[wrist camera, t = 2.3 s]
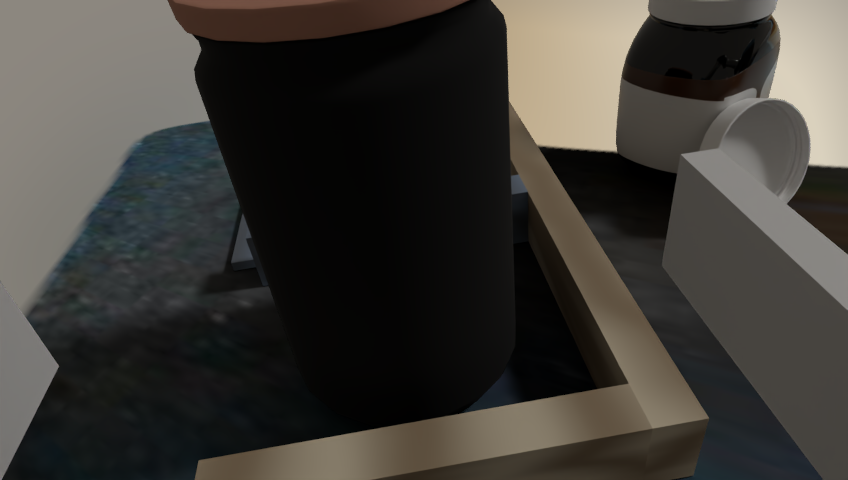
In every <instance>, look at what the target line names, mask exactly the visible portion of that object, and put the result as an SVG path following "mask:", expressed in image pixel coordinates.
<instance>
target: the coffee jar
mask: <svg viewBox="0 0 848 480" xmlns="http://www.w3.org/2000/svg"><path fill="white" fill-rule="evenodd" d="M168 2H169V5H170V7H171V9H172V11H173V13H174V15H175V18H176V20H177V21H178V22H179V24H180V25H181V26H182V27H183V28H184V30H185V31H186V32H187V33H190V34H192V35H193V36H194V37H195V38H196V39H197V40H198V41H199V44H200V47H201V53H200V55H199V58H198V60H197V64H196V66H195V68H194V71H195V80H196V84H197V86H198V89H199V92H200V95H201V97H202V100H203V103H204V106H205V109H206V111H207V114H208V117H209V119H210V123H211V125H212V128H213V131H214V134H215V137H216V139H217V142H218V145H219V148H220V151H221V153H222V156H223V159H224V162H225V165H226V167H227V170H228V173H229V176H230V179H231V181H232V184H233V187H234V190H235V193H236V195H237V198H238V201H239V204H240V207H241V209H242V212H243V215H244V218H245V220H246V223H247V226H248V229H249V232H250V234H251V237H252V240H253V243H254V246H255V248H256V251H257V254H258V257H259V260H260V262H261V265H262V268H263V271H264V274H265V276H266V279H267V282H268V285H269V288H270V290H271V293H272V296H273V299H274V302H275V304H276V307H277V310H278V313H279V316H280V318H281V321H282V324H283V327H284V330H285V332H286V335H287V338H288V341H289V343H290V346H291V349H292V352H293V355H294V357H295V360H296V363H297V366H298V368H299V370H300V372H301V374H302V376H303V378H304V380H305V382H306V384H307V386H308V388H309V390H310V392H311V393H313V394H314V395H315V396H316V397H317V398H319V399H320V400H321V401H322V402H324V403H325V404H326V405H327V406H328V407H330V408H331V409H332V410H333V411H335V412H336V413H337V414H339V415H342V416H345V417H348V418H351V419H354V420H356V421H359V422H362V423H365V424H368V425H372V426H375V427H389V426H394V425H400V424H406V423H411V422H417V421H422V420H428V419H434V418H439V417H445V416H450V415H455V414H456V413H458V412H460V411H462V410H464V409H466V408H468V407H469V406H471V405H472V404H473V403H474V402H476V401H477V400H478V399H479V398H480V397H481V396H482V395H483V394H484V393H485V392H486V391H487V390H488V389H489V388H490V387H491V386H492V385H493V384H494V383H495V382H496V381H497V380H498V379H499V378H500V377H501V375H502V374H503V372H504V370H505V367H506V365H507V363H508V361H509V359H510V356H511V354H512V352H513V350H514V348H515V327H516V318H515V286H514V254H513V221H512V189H511V157H510V124H509V95H508V94H509V92H508V60H507V28H506V23H505V19H504V15H503V14H502V13H501V12H500V11H499V9H498V8H497V7H496V6H495V5H494V4H493V2H492V1H491V0H168Z"/></svg>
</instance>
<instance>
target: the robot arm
mask: <svg viewBox="0 0 848 480" xmlns="http://www.w3.org/2000/svg"><path fill="white" fill-rule="evenodd" d="M662 267H663V268H664V269H665V271H666V272H667V273H668V275H669V276H670V277H671V279H672V280H673V281H674V283H675V284H676V285H677V286H678V288H679V289H680V290H681V292H682V293H683V294H684V296H685V297H686V298H687V300H688V301H689V302H690V304H691V305H692V306H693V308H694V309H695V310H696V312H697V313H698V314H699V316H700V317H701V318H702V320H703V321H704V322H705V324H706V325H707V326H708V328H709V329H710V330H711V332H712V333H713V334H714V335H715V337H716V338H717V339H718V341H719V342H720V343H721V345H722V346H723V347H724V349H725V350H726V351H727V353H728V354H729V355H730V357H731V358H732V359H733V361H734V362H735V363H736V365H737V366H738V367H739V369H740V370H741V371H742V373H743V374H744V375H745V377H746V378H747V379H748V381H749V382H750V383H751V384H752V386H753V387H754V388H755V390H756V391H757V392H758V394H759V395H760V396H761V398H762V399H763V400H764V402H765V403H766V404H767V406H768V407H769V408H770V410H771V411H772V412H773V414H774V415H775V416H776V418H777V419H778V420H779V422H780V423H781V424H782V426H783V427H784V428H785V430H786V431H787V432H788V433H789V435H790V436H791V437H792V439H793V440H794V441H795V443H796V444H797V445H798V447H799V448H800V449H801V451H802V452H803V453H804V455H805V456H806V457H807V459H808V460H809V461H810V463H811V464H812V465H813V467H814V468H815V469H816V471H817V472H818V473H819V475H820V476H821V477H822V479H823V480H848V255H847V254H846V253H845V252H844V251H842V250H841V249H840V248H839V247H838V246H836V245H835V244H834V243H833V242H832V241H830V240H829V239H828V238H827V237H826V236H824V235H823V234H822V233H821V232H819V231H818V230H817V229H816V228H815V227H813V226H812V225H811V224H810V223H809V222H807V221H806V220H805V219H804V218H803V217H801V216H800V215H799V214H798V213H797V212H795V211H794V210H793V209H792V208H790V207H789V206H788V205H787V204H786V203H784V202H783V201H782V200H781V199H780V198H778V197H777V196H776V195H775V194H774V193H772V192H771V191H770V190H769V189H767V188H766V187H765V186H764V185H763V184H761V183H760V182H759V181H758V180H757V179H755V178H754V177H753V176H752V175H751V174H749V173H748V172H747V171H746V170H744V169H743V168H742V167H741V166H740V165H738V164H737V163H736V162H735V161H734V160H732V159H731V158H730V157H729V156H728V155H726V154H725V153H724V152H723V151H722V150H720V149H719V148H717V149H711V150H704V151H698V152H692V153H685V154H681V155H680V161H679V166H678V172H677V178H676V184H675V190H674V196H673V202H672V208H671V213H670V219H669V225H668V231H667V237H666V243H665V249H664V255H663V261H662ZM58 367H59V365H58V364H57V363H56V361H55V360H54V358H53V357H52V355H51V354H50V352H49V351H48V349H47V348H46V347H45V345H44V344H43V342H42V341H41V339H40V338H39V336H38V335H37V334H36V332H35V331H34V329H33V328H32V326H31V325H30V323H29V322H28V320H27V319H26V318H25V316H24V315H23V313H22V312H21V310H20V309H19V307H18V306H17V304H16V303H15V302H14V300H13V299H12V297H11V296H10V294H9V293H8V292H7V290H6V289H5V287H4V286H3V284H2V283H1V281H0V480H2V478H3V476H4V474H5V472H6V470H7V468H8V466H9V464H10V462H11V460H12V458H13V456H14V454H15V452H16V450H17V448H18V446H19V444H20V443H21V441H22V439H23V437H24V435H25V433H26V431H27V429H28V427H29V425H30V423H31V421H32V419H33V417H34V415H35V413H36V411H37V409H38V407H39V405H40V403H41V401H42V399H43V397H44V395H45V393H46V391H47V389H48V387H49V385H50V383H51V381H52V379H53V377H54V375H55V373H56V371H57V369H58Z"/></svg>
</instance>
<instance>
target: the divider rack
mask: <svg viewBox="0 0 848 480" xmlns="http://www.w3.org/2000/svg"><path fill="white" fill-rule="evenodd" d="M509 124H510V157H511V189H512V221H513V244H515V243H521V242H527V241H529V244H530V246H531V248H532V250H533V252H534V254H535V256H536V259H537V261H538V263H539V265H540V267H541V269H542V271H543V274H544V276H545V278H546V280H547V282H548V284H549V286H550V289H551V291H552V293H553V295H554V297H555V299H556V302H557V304H558V306H559V308H560V310H561V312H562V314H563V317H564V319H565V321H566V323H567V325H568V327H569V329H570V332H571V334H572V336H573V338H574V340H575V342H576V344H577V347H578V349H579V351H580V353H581V355H582V357H583V360H584V362H585V364H586V366H587V368H588V370H589V372H590V375H591V377H592V379H593V381H594V383H595V385H596V387H597V389H596V390H590V391H585V392H579V393H574V394H568V395H562V396H557V397H551V398H546V399H540V400H534V401H529V402H523V403H518V404H512V405H506V406H501V407H495V408H490V409H484V410H478V411H473V412H467V413H462V414H456V415H450V416H445V417H439V418H434V419H428V420H422V421H417V422H411V423H406V424H400V425H394V426H389V427H383V428H378V429H372V430H366V431H361V432H355V433H350V434H344V435H338V436H333V437H327V438H322V439H316V440H310V441H305V442H299V443H294V444H288V445H282V446H277V447H271V448H266V449H260V450H254V451H249V452H243V453H238V454H232V455H226V456H221V457H215V458H210V459H204V460H199V462H198V466H197V471H196V476H195V480H672V479H677V478H683V477H688V476H693V474H694V471H695V467H696V463H697V460H698V456H699V453H700V449H701V445H702V442H703V438H704V435H705V431H706V427H707V424H708V420H709V418H708V416H707V414H706V413H705V411H704V410H703V408H702V407H701V405H700V403H699V402H698V400H697V399H696V397H695V395H694V394H693V392H692V391H691V389H690V387H689V386H688V384H687V383H686V381H685V380H684V378H683V376H682V375H681V373H680V372H679V370H678V368H677V367H676V365H675V364H674V362H673V361H672V359H671V357H670V356H669V354H668V353H667V351H666V349H665V348H664V346H663V345H662V343H661V341H660V340H659V338H658V337H657V335H656V334H655V332H654V330H653V329H652V327H651V326H650V324H649V322H648V321H647V319H646V318H645V316H644V314H643V313H642V311H641V310H640V308H639V307H638V305H637V303H636V302H635V300H634V299H633V297H632V295H631V294H630V292H629V291H628V289H627V288H626V286H625V284H624V283H623V281H622V280H621V278H620V276H619V275H618V273H617V272H616V270H615V268H614V267H613V265H612V264H611V262H610V261H609V259H608V257H607V256H606V254H605V253H604V251H603V249H602V248H601V246H600V245H599V243H598V242H597V240H596V238H595V237H594V235H593V234H592V232H591V230H590V229H589V227H588V226H587V224H586V222H585V221H584V219H583V218H582V216H581V215H580V213H579V211H578V210H577V208H576V207H575V205H574V203H573V202H572V200H571V199H570V197H569V195H568V194H567V192H566V191H565V189H564V188H563V186H562V184H561V183H560V181H559V180H558V178H557V176H556V175H555V173H554V172H553V170H552V169H551V167H550V165H549V164H548V162H547V161H546V159H545V157H544V156H543V154H542V153H541V151H540V149H539V148H538V146H537V145H536V143H535V142H534V140H533V138H532V137H531V135H530V134H529V132H528V131H527V129H526V128H525V126H524V124H523V123H522V121H521V119H520V118H519V116H518V115H517V113H516V111H515V110H514V108H513V107H512V105H511V103H510V102H509ZM231 265H232V267H233V270H234V271H236V270H242V269H248V268H254V267H256V268H257V271H258V274H259V276H260V279H261V282H262V285H263V286H267V285H268V282H267V279H266V276H265V274H264V271H263V268H262V265H261V262H260V260H259V257H258V254H257V251H256V248H255V246H254V243H253V240H252V237H251V234H250V232H249V229H248V226H247V223H246V220H245V218H244V215H243V214H242V218H241V222H240V227H239V231H238V235H237V239H236V244H235V248H234V252H233V257H232V261H231Z"/></svg>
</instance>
